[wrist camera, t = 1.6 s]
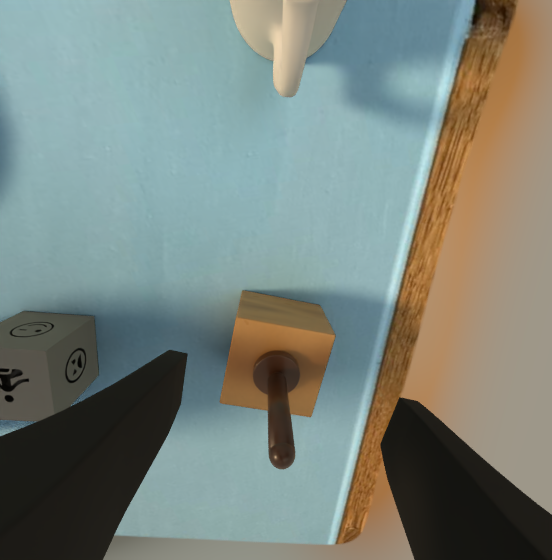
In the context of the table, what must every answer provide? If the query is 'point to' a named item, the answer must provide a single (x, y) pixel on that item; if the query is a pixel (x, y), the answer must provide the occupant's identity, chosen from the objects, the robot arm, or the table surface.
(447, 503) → the robot arm
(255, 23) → the mug
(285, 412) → the brown peg
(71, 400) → the dice cube
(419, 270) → the table surface
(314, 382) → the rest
